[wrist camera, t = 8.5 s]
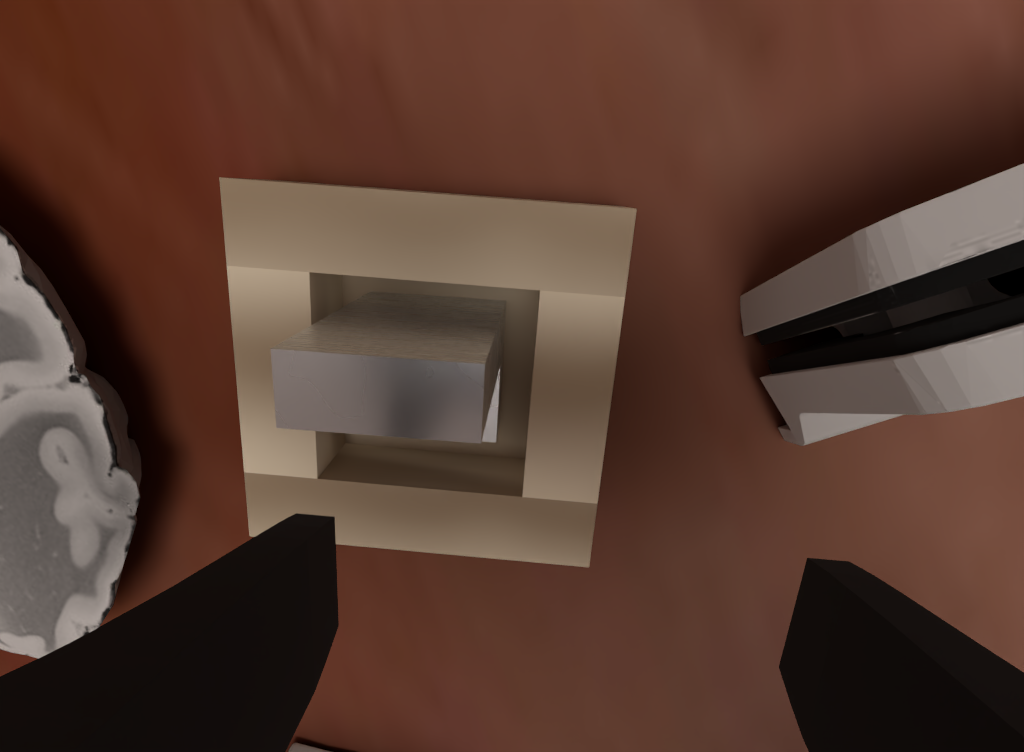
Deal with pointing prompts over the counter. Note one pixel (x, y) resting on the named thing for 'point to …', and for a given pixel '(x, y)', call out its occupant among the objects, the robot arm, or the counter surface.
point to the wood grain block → (396, 369)
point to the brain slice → (56, 470)
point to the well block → (439, 272)
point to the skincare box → (304, 748)
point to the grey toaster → (900, 315)
